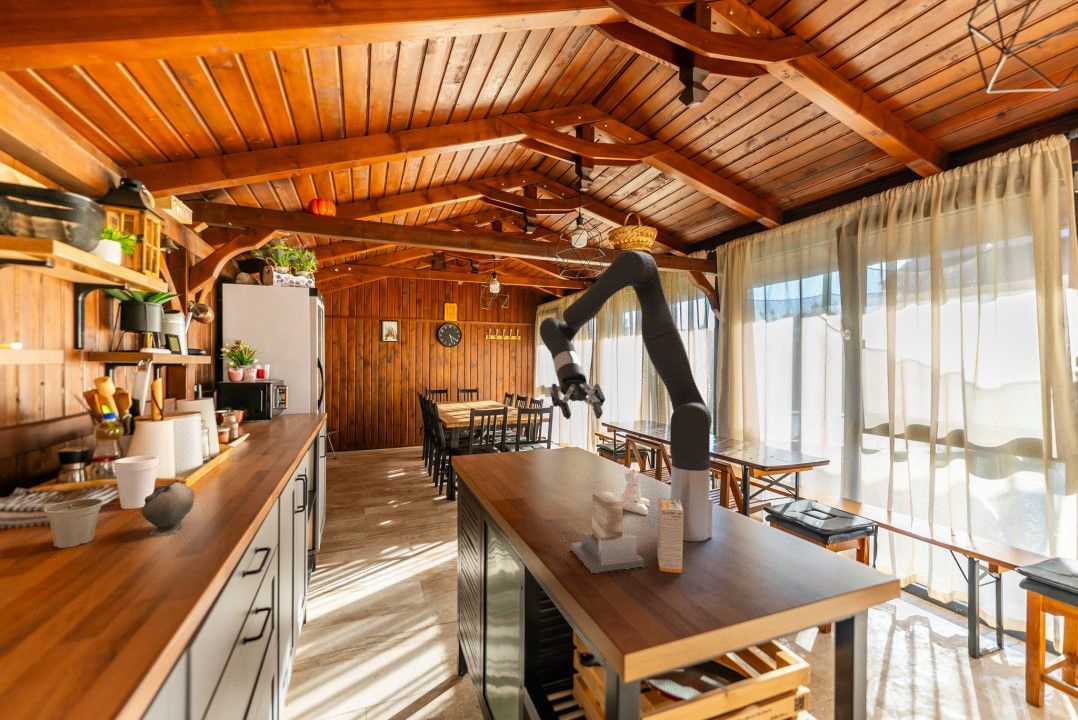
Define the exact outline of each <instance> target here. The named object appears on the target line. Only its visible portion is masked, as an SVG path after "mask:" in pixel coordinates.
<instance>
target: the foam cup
mask: <svg viewBox="0 0 1078 720" xmlns="http://www.w3.org/2000/svg"><path fill="white" fill-rule="evenodd" d="M113 462H114V463H113V470H114V471H115V477H116V483H117V485H116V486H117V489H118V497H119V502H120V503H119V504H120V508H121V509H125V510H131V509H132V510H133V509H141V508H143V507H144V505H145V498H146V497H147V496H149V495H151V494H152V493H153V491H154V490H155V485H156V479H157V475H158V474H157V473H158V467H159V465H160V456H158V455H137V456H129V457H121V458H119V459H116V460H115V461H113Z"/></svg>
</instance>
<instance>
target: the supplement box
mask: <svg viewBox="0 0 1078 720" xmlns="http://www.w3.org/2000/svg"><path fill="white" fill-rule="evenodd" d="M657 506H658V507H657V509H658V511H657V513H658V515H657V522H658V523H657V548H656V549H657V555H656V556H657V563H658V568H659V569H658V570H659V571H660V572H664V573H665V572H666V573H674V574H682V573H683V552H684V551H683V549H684V548H683V547H684V540H683V508H682V505H681V502H680V500H679V499H671V498H665V497H659V498H658V505H657Z"/></svg>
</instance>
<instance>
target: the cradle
mask: <svg viewBox="0 0 1078 720" xmlns="http://www.w3.org/2000/svg"><path fill="white" fill-rule="evenodd" d="M637 540H638V538H637V536H636V535H634V534H627V535H623V534H622V536H616V537H606V538H599V542H598V541H597V540H596V539H595V538H594V537H593V536H592V534H590V532H588V531H587V530H586V531H581V541H579V542H578V541H577V542H571V544H570V546H571V547H570V550H571V549H572V550H571V551H572V553H573V554H574V553H575V554H576V555H577V556H578V557H579V558H578V557H577V556H576V555H575V554H574V555H575V556H576V557H577V558H578V559H579V560H581V561H582V562H583V563H584V564H583V563H582V562H581V563H582V564H583V566H585V568H588V569H589V570H590V571H591V572H590V571H589V570H588V569H587V570H588V571H589V572H590V573H591V574H592V573H596V574H598V573H597V572H603V571H609V570H618V569H626V568H635V567H642V568H645V563H646V561H645V559H644V558H643V557H642V556H641V555H639V554H638V553H637V548H638V547H637V545H638V544H637V543H638V542H637ZM635 569H636V568H635Z"/></svg>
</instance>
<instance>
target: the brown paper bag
mask: <svg viewBox="0 0 1078 720" xmlns="http://www.w3.org/2000/svg"><path fill="white" fill-rule="evenodd" d="M591 502H592V503H591V504H592V508H591V509H592V510H591V511H592V512H591V535H592V536H593V537H594V538H595V539H596V540H597V541H598V542H599V538H606V537H616V536H622V535H623V529H624V527H623V523H624V519H623V518H624V513H623V512H624V508H623V501H622V500H621V499H620V497H618V496H616V495H615V494H613V493H612V492H610V491H598V492H592V501H591Z"/></svg>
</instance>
